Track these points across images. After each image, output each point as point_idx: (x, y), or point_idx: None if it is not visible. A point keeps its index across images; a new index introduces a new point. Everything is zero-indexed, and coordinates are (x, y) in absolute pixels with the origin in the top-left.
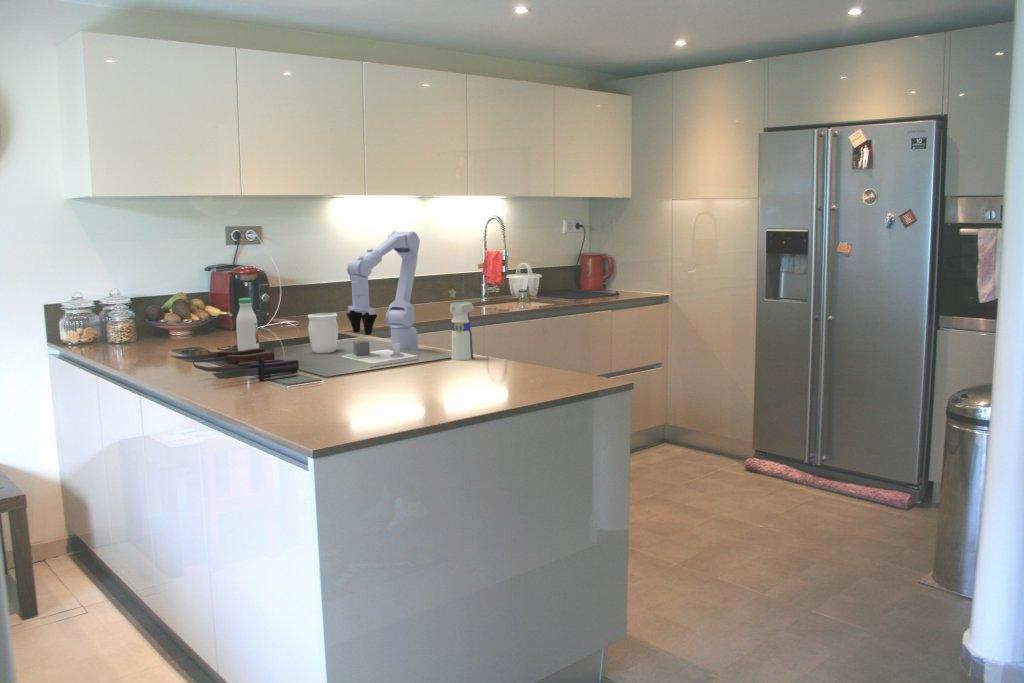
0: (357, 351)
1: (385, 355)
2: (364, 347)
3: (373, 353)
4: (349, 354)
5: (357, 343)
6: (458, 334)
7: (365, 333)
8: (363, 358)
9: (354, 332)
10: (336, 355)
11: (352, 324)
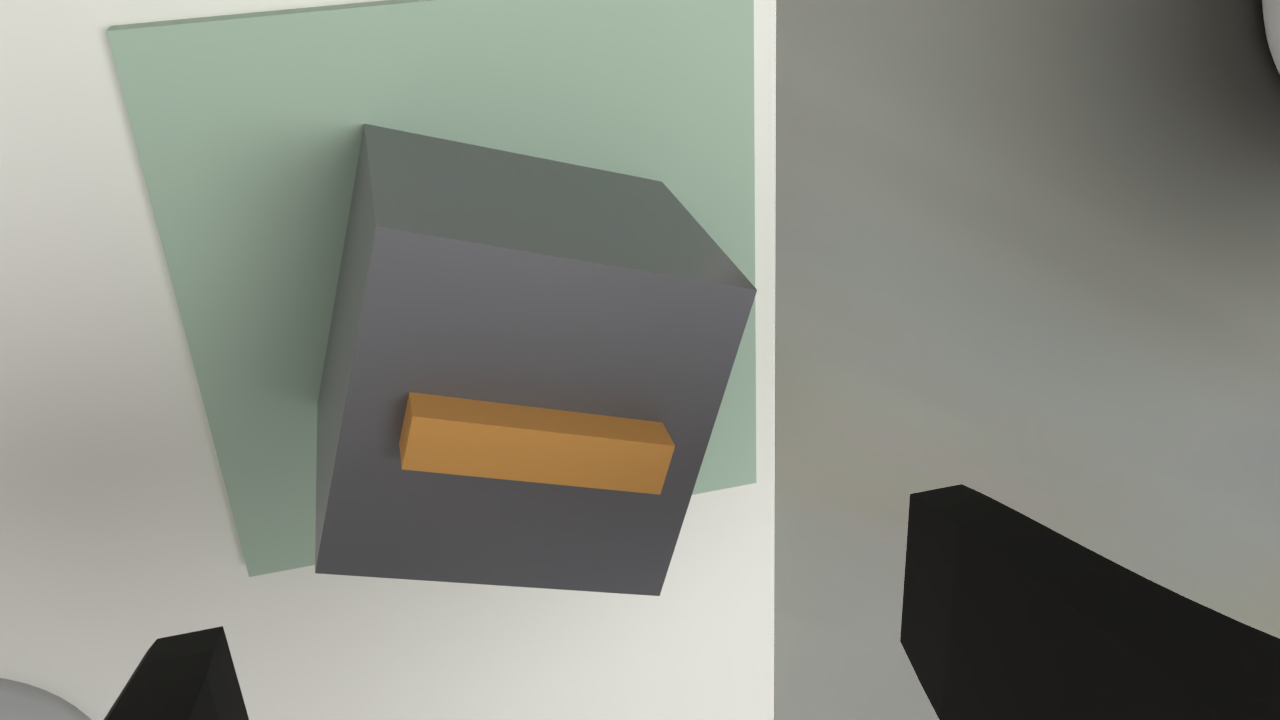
0: (363, 180)
1: None
2: (335, 389)
3: None
4: (704, 96)
5: (368, 265)
6: None
7: (171, 654)
8: (109, 177)
9: (925, 493)
10: (1253, 82)
11: (1111, 623)
